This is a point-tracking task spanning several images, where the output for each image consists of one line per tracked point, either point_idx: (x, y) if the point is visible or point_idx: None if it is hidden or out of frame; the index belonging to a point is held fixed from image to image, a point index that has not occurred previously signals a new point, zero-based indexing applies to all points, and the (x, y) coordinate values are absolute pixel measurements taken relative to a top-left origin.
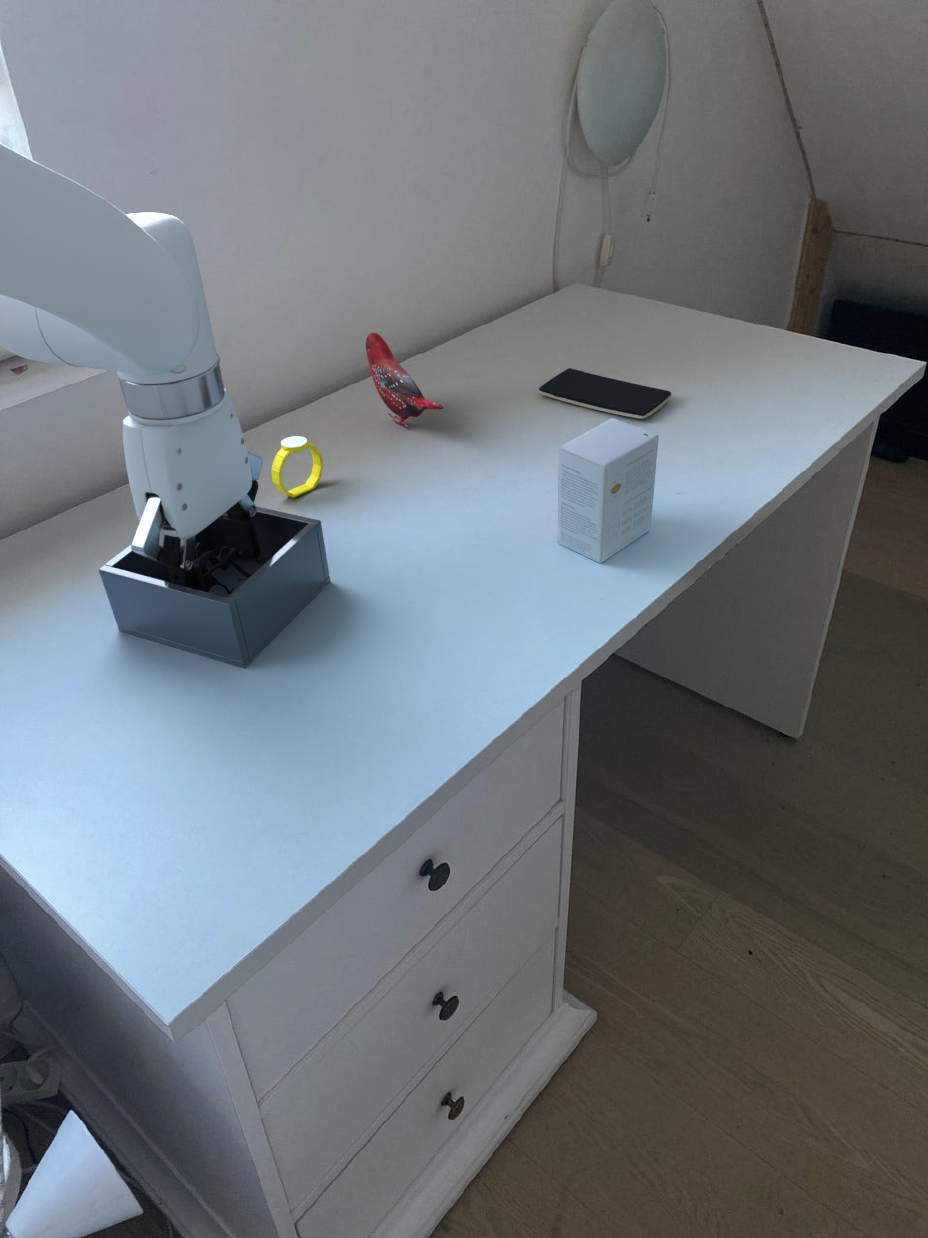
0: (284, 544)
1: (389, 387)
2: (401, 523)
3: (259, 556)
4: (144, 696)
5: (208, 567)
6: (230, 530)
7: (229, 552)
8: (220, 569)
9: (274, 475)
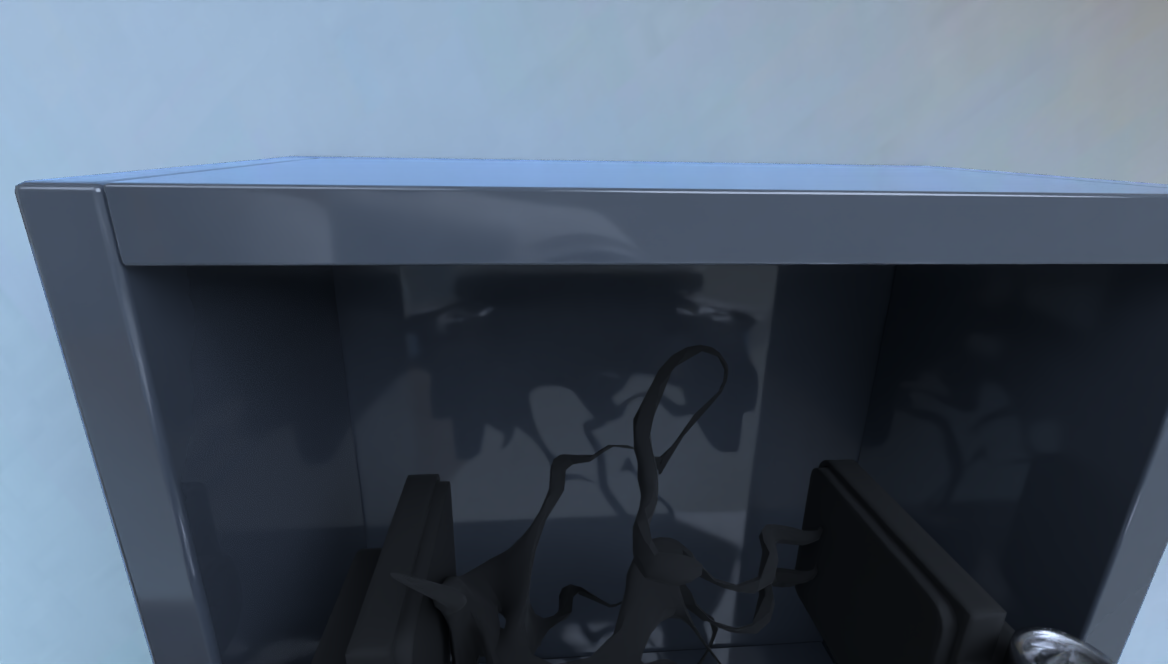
0: None
1: None
2: (1165, 652)
3: (882, 456)
4: (75, 505)
5: (705, 406)
6: (884, 596)
7: (725, 629)
8: (793, 317)
9: None
